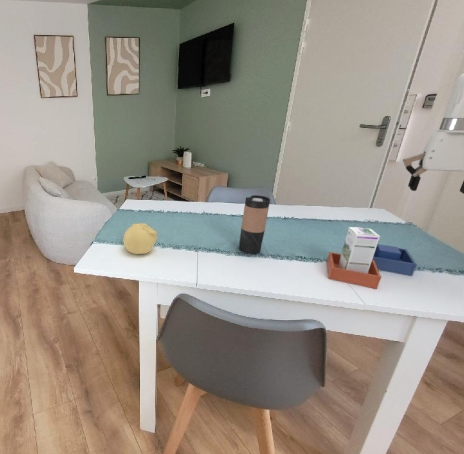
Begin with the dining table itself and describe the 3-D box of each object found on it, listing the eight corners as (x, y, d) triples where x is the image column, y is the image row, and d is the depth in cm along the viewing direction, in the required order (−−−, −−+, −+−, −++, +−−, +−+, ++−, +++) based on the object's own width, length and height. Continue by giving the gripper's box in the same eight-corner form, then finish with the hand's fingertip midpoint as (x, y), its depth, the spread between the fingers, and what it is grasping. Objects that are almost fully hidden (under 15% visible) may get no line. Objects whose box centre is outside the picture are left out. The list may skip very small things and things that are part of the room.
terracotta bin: (370, 270, 92) (374, 259, 90) (376, 289, 83) (381, 277, 82) (326, 262, 97) (329, 251, 96) (328, 278, 89) (332, 267, 87)
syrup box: (366, 279, 87) (382, 235, 81) (342, 276, 88) (356, 233, 83) (358, 269, 92) (372, 227, 86) (335, 267, 93) (348, 226, 88)
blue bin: (402, 259, 97) (406, 249, 95) (412, 276, 88) (416, 264, 86) (359, 252, 102) (362, 242, 101) (364, 267, 94) (368, 256, 92)
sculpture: (161, 251, 110) (162, 224, 106) (137, 261, 104) (137, 233, 100) (141, 241, 119) (141, 216, 115) (118, 249, 113) (117, 224, 109)
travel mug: (262, 255, 103) (272, 202, 96) (238, 253, 106) (246, 201, 98) (259, 246, 110) (268, 195, 102) (237, 244, 113) (244, 194, 105)
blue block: (392, 260, 96) (397, 247, 94) (395, 267, 92) (401, 253, 90) (372, 257, 98) (377, 243, 96) (375, 263, 94) (380, 250, 92)
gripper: (508, 123, 71) (478, 190, 78) (410, 125, 80) (391, 185, 87) (526, 125, 65) (492, 198, 72) (418, 127, 74) (397, 191, 81)
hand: (437, 191), depth 79 cm, fingers open, 9 cm apart
